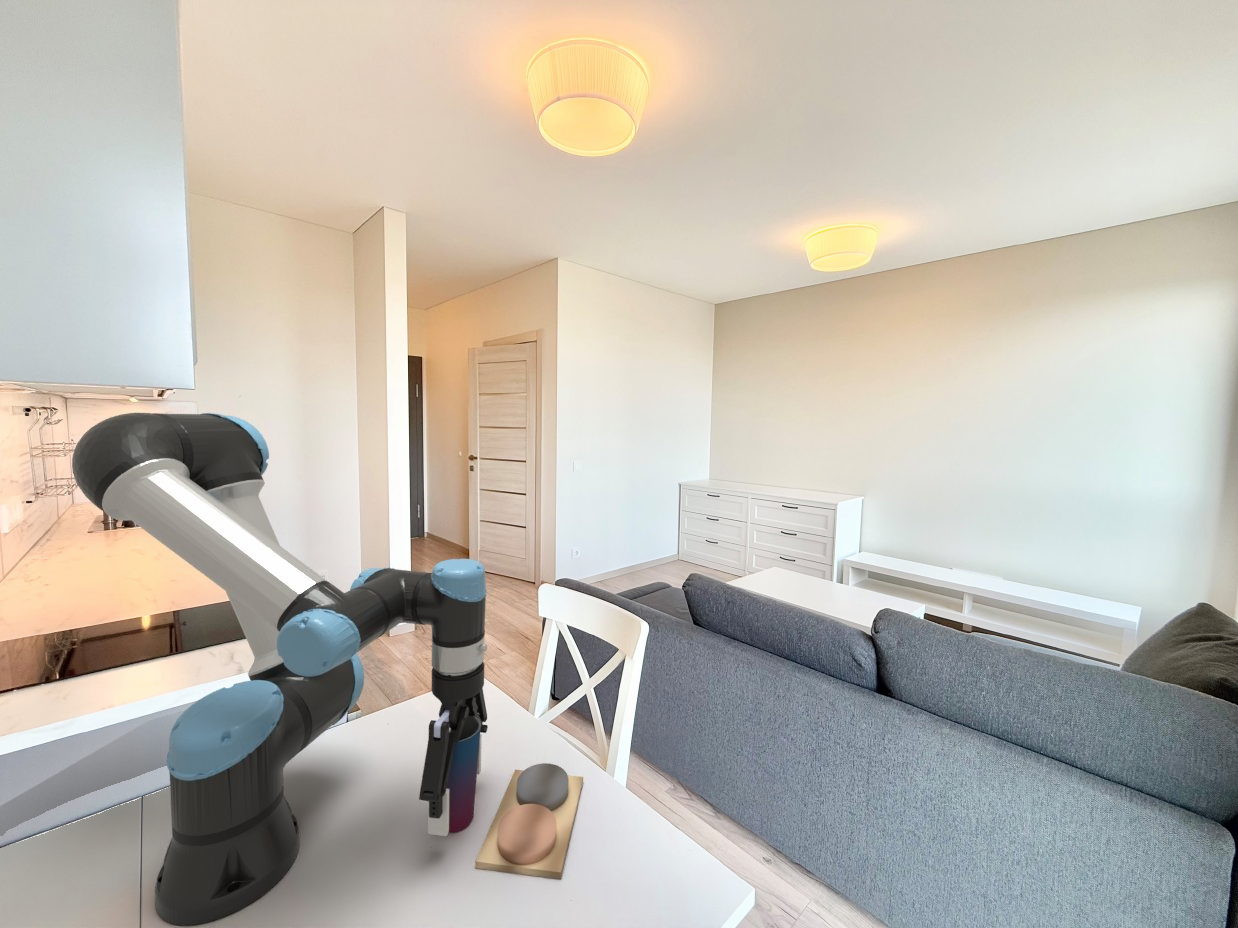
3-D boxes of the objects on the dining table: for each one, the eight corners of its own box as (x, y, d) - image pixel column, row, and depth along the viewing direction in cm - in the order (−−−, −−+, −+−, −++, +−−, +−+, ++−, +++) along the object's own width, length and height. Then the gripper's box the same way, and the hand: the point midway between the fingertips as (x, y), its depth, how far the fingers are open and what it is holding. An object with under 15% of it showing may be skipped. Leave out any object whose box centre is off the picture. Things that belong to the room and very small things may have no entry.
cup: (465, 842, 71) (466, 745, 70) (423, 832, 73) (424, 737, 71) (487, 806, 78) (488, 717, 77) (448, 798, 79) (449, 710, 78)
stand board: (475, 867, 67) (475, 847, 67) (515, 774, 85) (515, 758, 85) (560, 878, 66) (561, 858, 66) (583, 782, 84) (583, 765, 84)
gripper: (447, 713, 61) (445, 873, 63) (508, 632, 85) (505, 750, 87) (390, 707, 62) (390, 866, 64) (466, 628, 85) (464, 746, 87)
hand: (456, 799), depth 75 cm, fingers open, 11 cm apart
